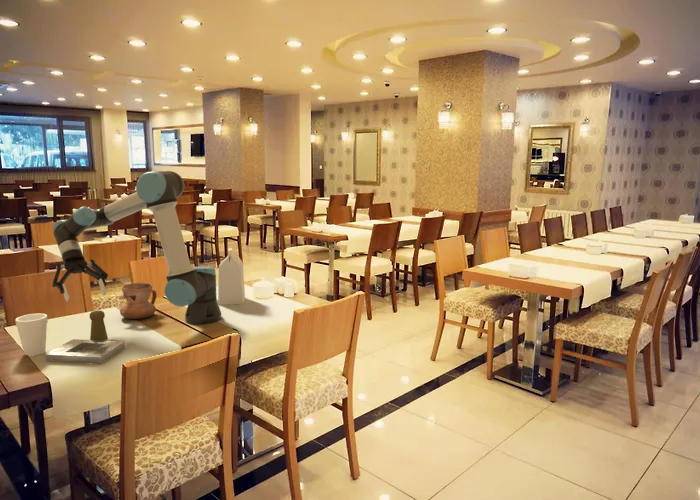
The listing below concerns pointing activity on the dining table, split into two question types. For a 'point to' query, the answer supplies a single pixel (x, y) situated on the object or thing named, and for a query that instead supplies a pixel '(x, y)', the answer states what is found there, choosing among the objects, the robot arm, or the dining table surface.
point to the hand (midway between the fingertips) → (86, 296)
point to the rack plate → (71, 355)
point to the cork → (98, 326)
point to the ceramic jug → (138, 300)
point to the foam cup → (32, 333)
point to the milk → (231, 280)
